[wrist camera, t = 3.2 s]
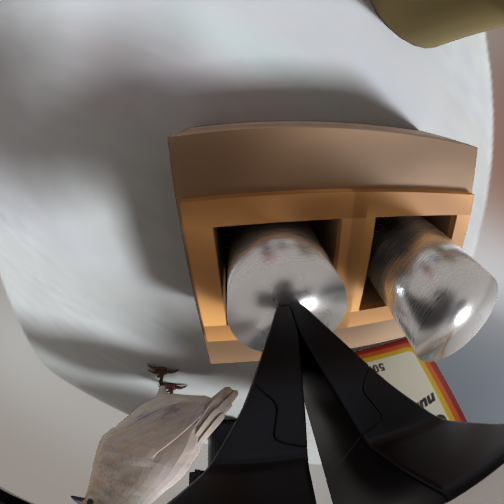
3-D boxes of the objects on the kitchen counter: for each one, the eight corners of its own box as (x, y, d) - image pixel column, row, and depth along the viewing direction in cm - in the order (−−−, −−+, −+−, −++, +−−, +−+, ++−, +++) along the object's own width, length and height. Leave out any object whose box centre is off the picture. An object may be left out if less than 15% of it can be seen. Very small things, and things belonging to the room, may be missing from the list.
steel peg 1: (310, 275, 14) (338, 346, 10) (232, 281, 14) (233, 358, 10) (314, 201, 12) (355, 256, 8) (224, 207, 12) (219, 267, 8)
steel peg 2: (422, 283, 13) (471, 346, 8) (358, 293, 13) (401, 372, 8) (440, 213, 11) (510, 268, 6) (371, 215, 11) (440, 284, 6)
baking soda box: (320, 395, 25) (353, 535, 11) (325, 358, 22) (373, 534, 8) (401, 373, 25) (450, 493, 11) (418, 334, 22) (489, 474, 8)
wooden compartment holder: (395, 284, 18) (430, 334, 14) (214, 303, 18) (210, 369, 13) (419, 130, 13) (483, 149, 8) (190, 127, 13) (165, 139, 8)
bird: (90, 360, 21) (48, 504, 8) (232, 356, 21) (240, 546, 8) (112, 390, 23) (86, 518, 10) (241, 388, 23) (251, 544, 10)
